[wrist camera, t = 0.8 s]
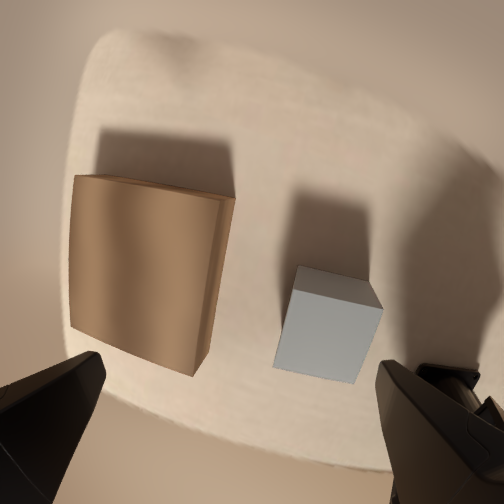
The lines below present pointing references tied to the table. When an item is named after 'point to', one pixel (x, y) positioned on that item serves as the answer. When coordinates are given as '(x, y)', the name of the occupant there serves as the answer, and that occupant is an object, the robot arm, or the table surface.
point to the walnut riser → (147, 267)
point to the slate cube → (328, 325)
